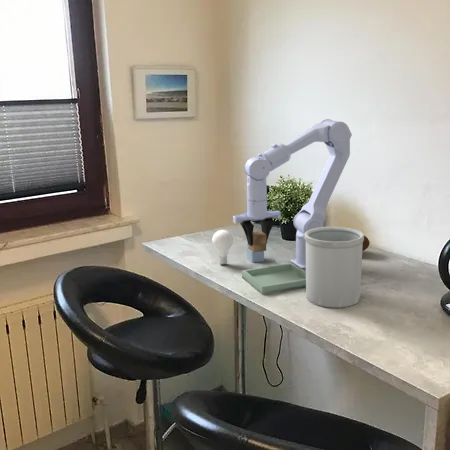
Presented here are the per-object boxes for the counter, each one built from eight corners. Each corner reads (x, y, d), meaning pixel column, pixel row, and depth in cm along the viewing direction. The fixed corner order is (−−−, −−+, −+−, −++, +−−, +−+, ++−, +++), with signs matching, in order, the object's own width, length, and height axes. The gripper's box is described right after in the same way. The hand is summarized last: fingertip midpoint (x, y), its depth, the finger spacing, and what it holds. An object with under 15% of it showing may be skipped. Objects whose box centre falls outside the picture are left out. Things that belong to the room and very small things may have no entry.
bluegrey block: (258, 257, 180) (258, 242, 179) (264, 260, 177) (264, 245, 175) (247, 258, 179) (247, 243, 178) (252, 262, 175) (252, 247, 174)
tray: (291, 269, 168) (291, 262, 168) (314, 285, 156) (315, 278, 155) (242, 277, 163) (242, 270, 162) (262, 294, 150) (262, 286, 150)
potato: (351, 248, 187) (352, 225, 185) (373, 256, 179) (374, 232, 177) (334, 252, 183) (335, 229, 181) (357, 260, 175) (358, 236, 173)
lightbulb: (231, 268, 171) (230, 233, 168) (210, 267, 172) (209, 232, 169) (235, 261, 177) (234, 227, 174) (215, 260, 178) (214, 227, 175)
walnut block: (260, 246, 171) (260, 231, 169) (266, 250, 167) (266, 234, 166) (248, 248, 169) (248, 232, 168) (253, 252, 166) (253, 235, 164)
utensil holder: (293, 292, 152) (294, 229, 147) (341, 283, 157) (343, 223, 152) (321, 313, 138) (323, 244, 134) (372, 303, 143) (376, 237, 139)
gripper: (273, 194, 170) (273, 237, 174) (228, 199, 165) (229, 243, 169) (284, 198, 164) (283, 243, 167) (237, 204, 159) (238, 249, 162)
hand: (257, 243), depth 168 cm, fingers closed on walnut block, 4 cm apart
